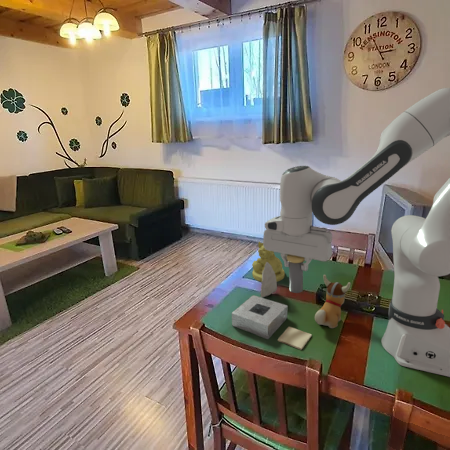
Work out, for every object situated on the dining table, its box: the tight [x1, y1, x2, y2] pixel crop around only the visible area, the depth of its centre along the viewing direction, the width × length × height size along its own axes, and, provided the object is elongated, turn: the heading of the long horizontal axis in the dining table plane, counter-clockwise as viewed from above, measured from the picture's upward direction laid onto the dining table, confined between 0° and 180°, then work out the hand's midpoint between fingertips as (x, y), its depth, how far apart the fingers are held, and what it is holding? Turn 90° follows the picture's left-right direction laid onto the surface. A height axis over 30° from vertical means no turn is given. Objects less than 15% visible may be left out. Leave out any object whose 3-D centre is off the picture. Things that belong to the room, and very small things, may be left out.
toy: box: [314, 274, 352, 329], centre depth 110 cm, size 10×16×15 cm, turn 135°
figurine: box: [251, 241, 286, 283], centre depth 146 cm, size 15×14×15 cm
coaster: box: [277, 326, 312, 351], centre depth 105 cm, size 8×8×1 cm
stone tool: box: [260, 262, 278, 298], centre depth 129 cm, size 8×3×15 cm, turn 127°
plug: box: [287, 254, 306, 294], centre depth 98 cm, size 5×5×11 cm
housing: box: [231, 295, 288, 340], centre depth 114 cm, size 14×14×5 cm
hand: (296, 268), depth 97 cm, fingers closed on plug, 4 cm apart
